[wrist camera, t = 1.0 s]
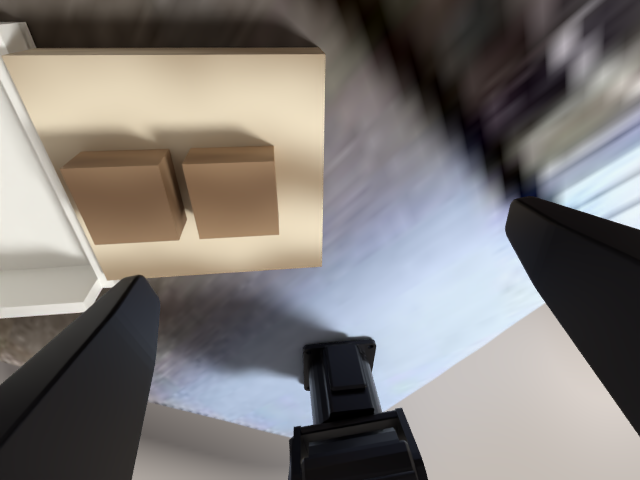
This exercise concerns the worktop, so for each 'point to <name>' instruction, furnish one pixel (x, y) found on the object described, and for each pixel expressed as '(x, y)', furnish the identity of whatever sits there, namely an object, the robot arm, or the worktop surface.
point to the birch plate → (189, 137)
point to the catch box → (37, 214)
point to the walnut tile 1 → (127, 195)
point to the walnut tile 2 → (233, 191)
